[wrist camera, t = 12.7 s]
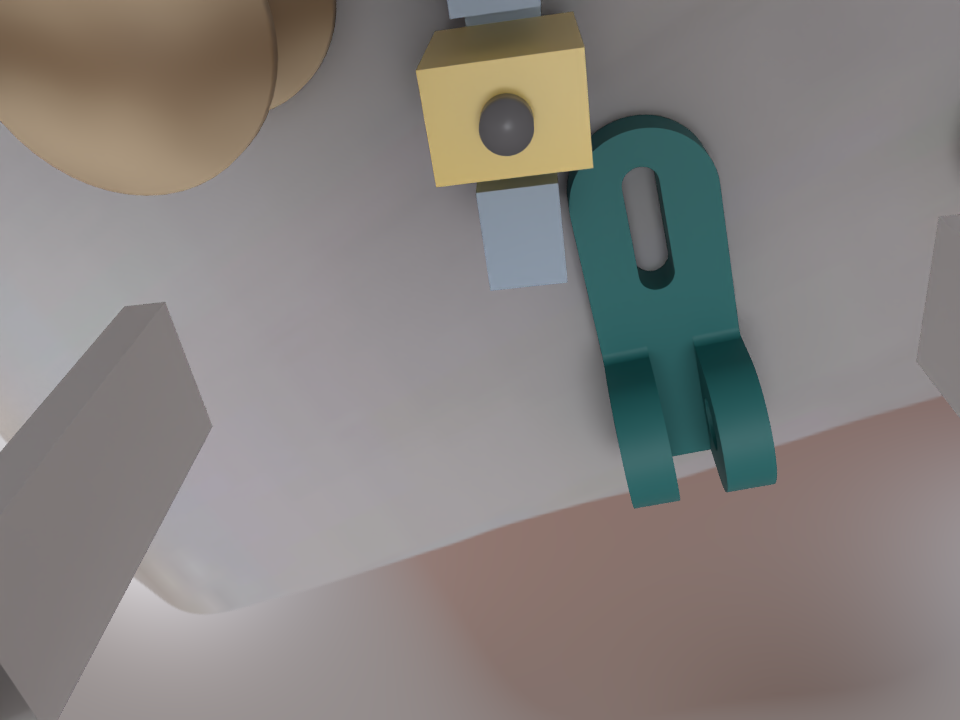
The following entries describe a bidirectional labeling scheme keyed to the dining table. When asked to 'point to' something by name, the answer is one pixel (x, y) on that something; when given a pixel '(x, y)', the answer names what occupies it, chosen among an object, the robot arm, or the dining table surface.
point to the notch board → (517, 191)
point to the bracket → (668, 315)
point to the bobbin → (152, 82)
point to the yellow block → (506, 100)
